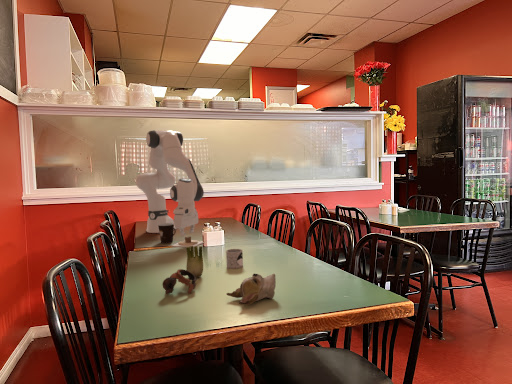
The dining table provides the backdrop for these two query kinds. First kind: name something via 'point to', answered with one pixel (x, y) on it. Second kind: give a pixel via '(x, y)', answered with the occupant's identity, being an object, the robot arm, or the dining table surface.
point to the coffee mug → (166, 232)
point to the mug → (234, 258)
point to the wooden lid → (188, 241)
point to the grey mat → (187, 245)
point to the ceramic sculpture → (255, 289)
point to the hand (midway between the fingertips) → (187, 234)
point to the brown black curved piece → (171, 281)
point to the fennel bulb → (194, 261)
